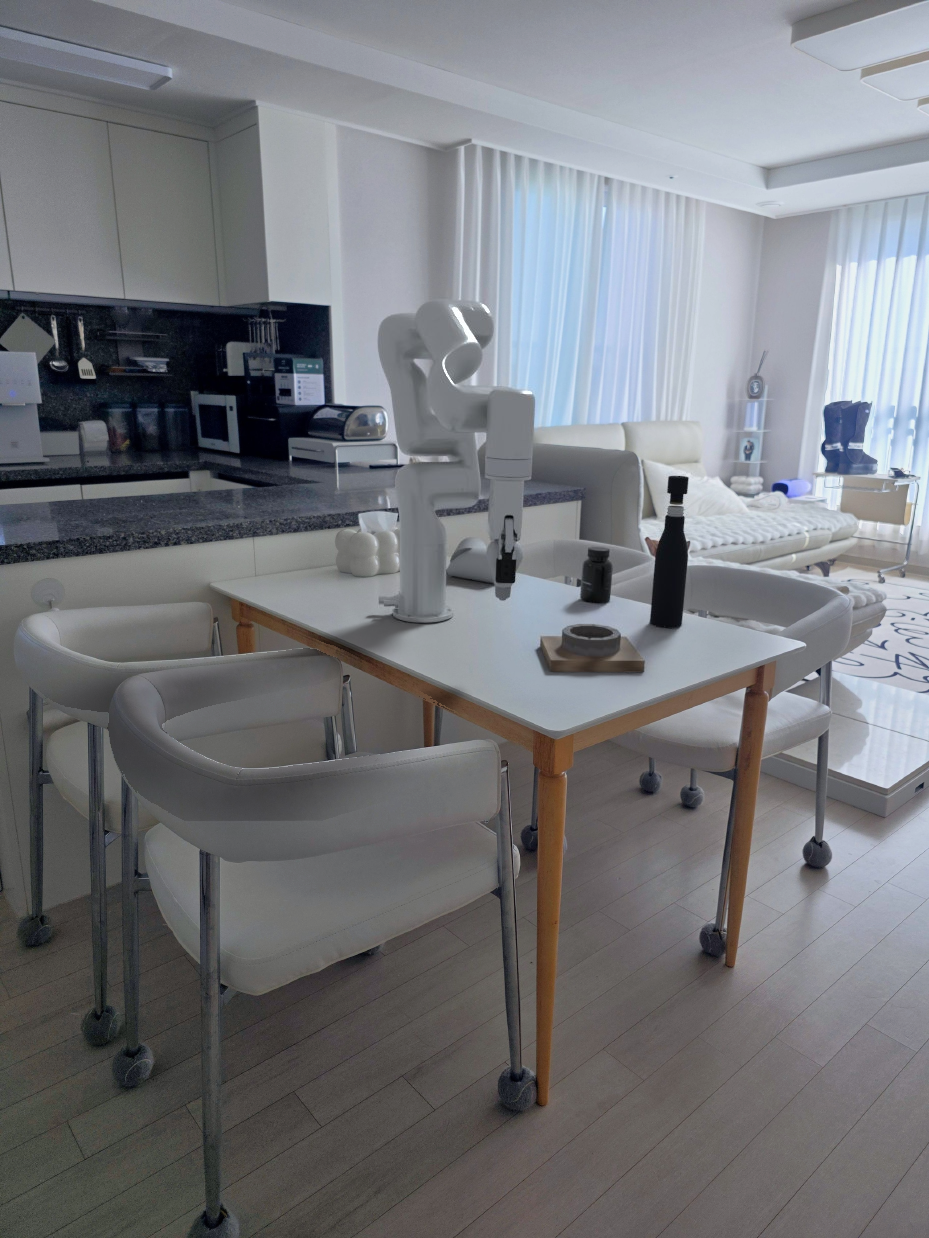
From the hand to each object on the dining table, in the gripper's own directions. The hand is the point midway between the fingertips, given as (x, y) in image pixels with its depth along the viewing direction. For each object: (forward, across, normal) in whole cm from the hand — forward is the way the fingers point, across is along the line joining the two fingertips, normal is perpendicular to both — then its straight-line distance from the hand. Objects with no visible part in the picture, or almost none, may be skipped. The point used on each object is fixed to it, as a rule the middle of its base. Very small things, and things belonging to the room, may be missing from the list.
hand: (503, 576), depth 137 cm
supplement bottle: (+17, -46, +25) cm, 55 cm away
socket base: (+16, -4, +16) cm, 23 cm away
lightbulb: (+4, 0, 0) cm, 4 cm away
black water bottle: (+16, -27, +36) cm, 48 cm away
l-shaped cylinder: (+18, -71, 0) cm, 73 cm away
